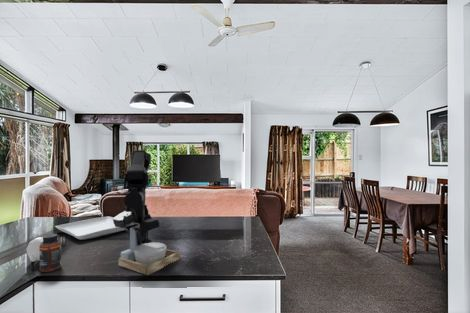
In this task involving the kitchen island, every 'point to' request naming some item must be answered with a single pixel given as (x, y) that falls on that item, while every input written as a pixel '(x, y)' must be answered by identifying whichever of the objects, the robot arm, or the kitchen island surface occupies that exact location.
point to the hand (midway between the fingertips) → (136, 244)
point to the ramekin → (150, 253)
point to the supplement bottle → (50, 253)
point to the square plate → (90, 228)
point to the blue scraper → (131, 245)
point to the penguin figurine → (34, 249)
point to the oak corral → (146, 269)
